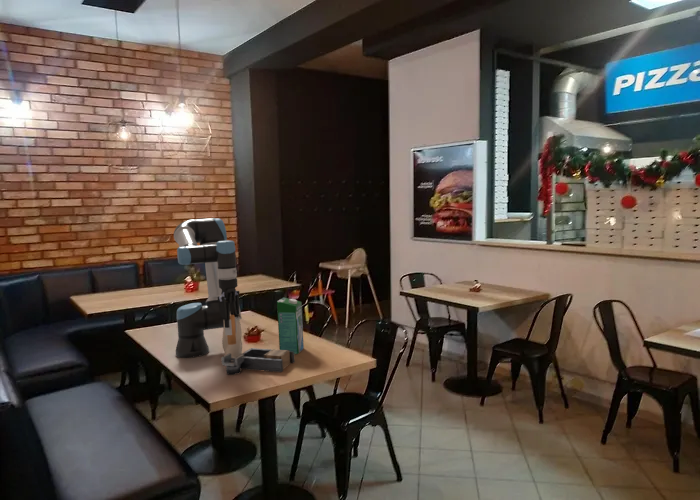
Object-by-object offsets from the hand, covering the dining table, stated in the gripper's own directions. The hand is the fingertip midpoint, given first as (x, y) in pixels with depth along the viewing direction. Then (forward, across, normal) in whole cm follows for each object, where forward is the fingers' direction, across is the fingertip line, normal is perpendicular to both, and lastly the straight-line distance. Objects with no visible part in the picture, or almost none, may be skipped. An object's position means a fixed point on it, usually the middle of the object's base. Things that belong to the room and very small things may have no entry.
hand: (231, 333), depth 217 cm
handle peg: (+4, 0, 0) cm, 4 cm away
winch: (+17, 0, 0) cm, 17 cm away
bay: (+17, +11, -9) cm, 22 cm away
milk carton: (+17, +32, -12) cm, 38 cm away
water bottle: (+17, +17, +10) cm, 26 cm away
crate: (+17, +11, -15) cm, 25 cm away
